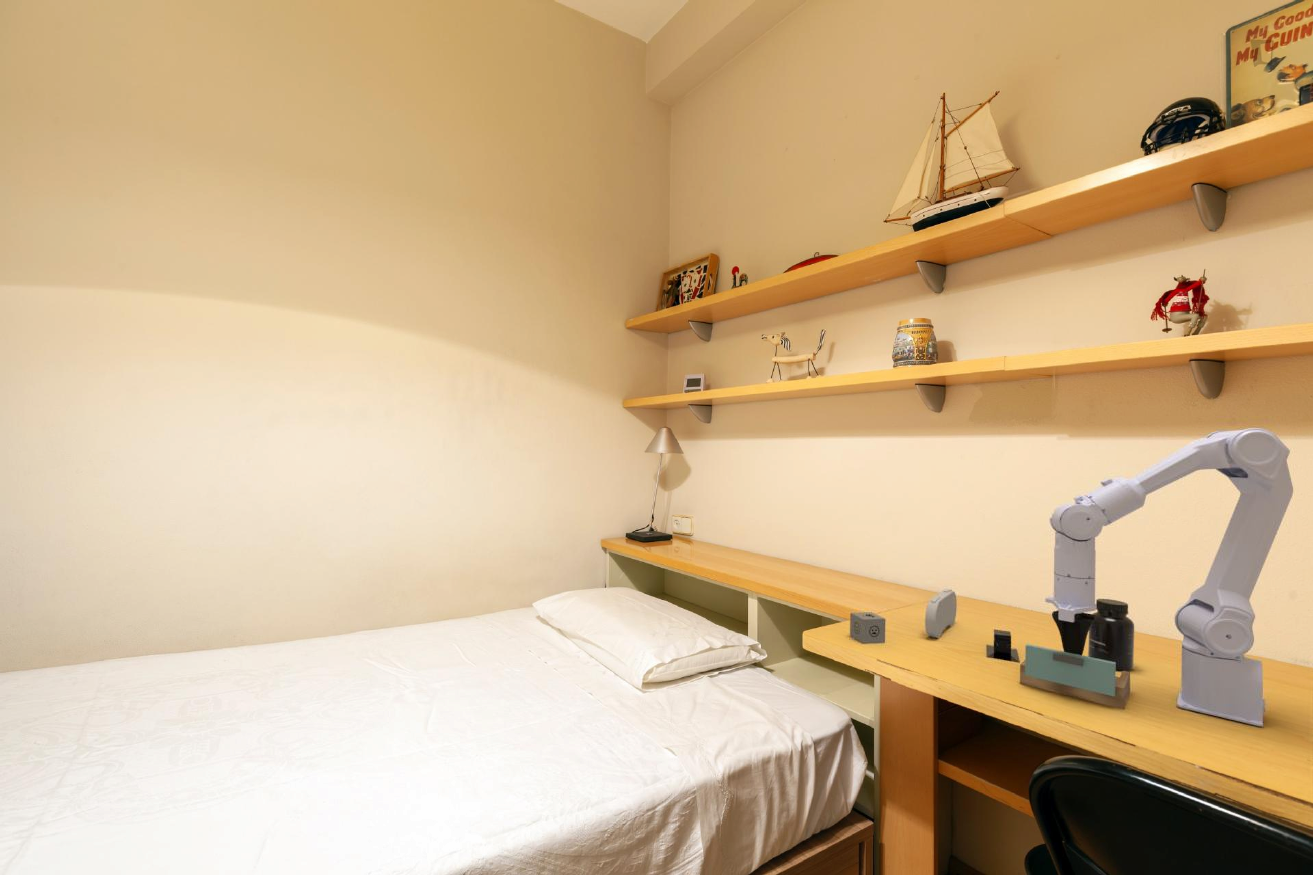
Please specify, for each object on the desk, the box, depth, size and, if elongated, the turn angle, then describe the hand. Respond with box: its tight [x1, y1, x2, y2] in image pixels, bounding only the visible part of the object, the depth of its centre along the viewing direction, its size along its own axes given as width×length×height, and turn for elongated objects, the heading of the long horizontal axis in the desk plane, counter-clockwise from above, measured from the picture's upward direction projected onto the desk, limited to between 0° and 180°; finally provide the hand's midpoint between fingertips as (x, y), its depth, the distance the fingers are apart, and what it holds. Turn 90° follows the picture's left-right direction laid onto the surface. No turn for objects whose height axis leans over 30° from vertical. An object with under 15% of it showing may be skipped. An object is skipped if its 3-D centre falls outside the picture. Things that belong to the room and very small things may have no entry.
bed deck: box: [1019, 659, 1131, 710], centre depth 101 cm, size 14×10×3 cm
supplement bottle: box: [1087, 598, 1135, 672], centre depth 113 cm, size 7×7×12 cm
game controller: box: [924, 588, 958, 639], centre depth 133 cm, size 20×2×8 cm, turn 141°
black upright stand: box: [985, 628, 1021, 664], centre depth 118 cm, size 12×7×5 cm, turn 152°
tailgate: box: [1024, 643, 1117, 697], centre depth 97 cm, size 12×2×5 cm, turn 47°
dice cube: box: [849, 611, 886, 645], centre depth 124 cm, size 5×5×5 cm
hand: (1073, 656), depth 100 cm, fingers closed
